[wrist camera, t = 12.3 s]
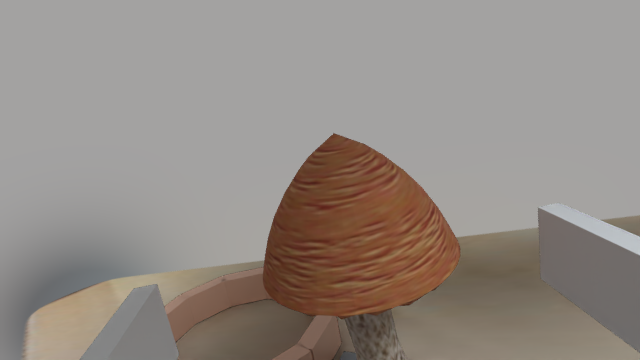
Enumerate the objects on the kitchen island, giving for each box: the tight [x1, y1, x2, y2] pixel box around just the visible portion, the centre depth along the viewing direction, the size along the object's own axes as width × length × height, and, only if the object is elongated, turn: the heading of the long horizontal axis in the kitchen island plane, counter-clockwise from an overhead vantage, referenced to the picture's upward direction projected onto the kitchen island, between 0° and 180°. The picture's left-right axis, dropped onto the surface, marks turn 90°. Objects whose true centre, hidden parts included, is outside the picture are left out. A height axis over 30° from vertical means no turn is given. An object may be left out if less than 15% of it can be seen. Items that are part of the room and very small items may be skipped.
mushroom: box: [263, 134, 460, 360], centre depth 16 cm, size 8×8×15 cm
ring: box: [164, 267, 342, 360], centre depth 28 cm, size 14×14×2 cm
